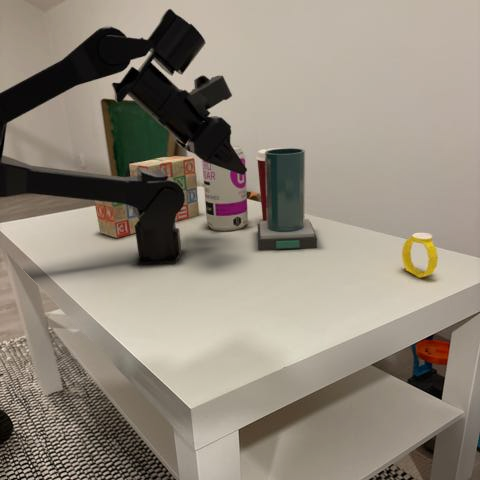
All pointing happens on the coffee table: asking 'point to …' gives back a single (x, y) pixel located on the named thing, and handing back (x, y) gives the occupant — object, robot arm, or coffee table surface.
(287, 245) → the scale
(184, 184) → the stack of blocks
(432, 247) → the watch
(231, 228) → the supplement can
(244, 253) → the coffee table surface
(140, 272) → the coffee table surface
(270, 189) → the ceramic cup
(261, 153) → the paper cup
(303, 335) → the coffee table surface
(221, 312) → the coffee table surface
